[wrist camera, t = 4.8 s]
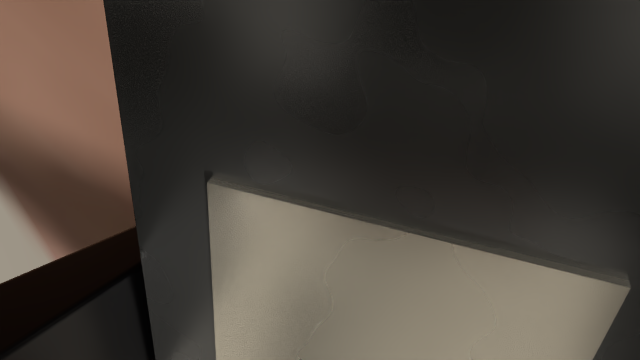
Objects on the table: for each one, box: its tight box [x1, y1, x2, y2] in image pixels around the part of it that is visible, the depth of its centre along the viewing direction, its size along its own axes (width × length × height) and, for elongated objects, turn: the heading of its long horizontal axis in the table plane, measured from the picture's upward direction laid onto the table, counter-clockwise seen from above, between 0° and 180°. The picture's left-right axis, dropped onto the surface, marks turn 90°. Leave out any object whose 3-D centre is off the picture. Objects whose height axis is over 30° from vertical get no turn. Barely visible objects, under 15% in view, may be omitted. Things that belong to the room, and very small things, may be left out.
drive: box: [103, 0, 640, 360], centre depth 8 cm, size 10×6×4 cm, turn 175°
